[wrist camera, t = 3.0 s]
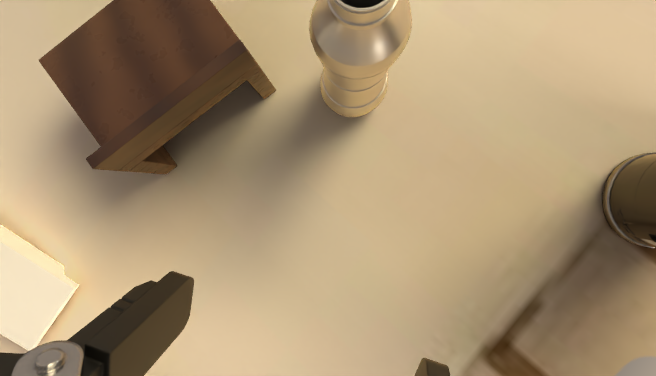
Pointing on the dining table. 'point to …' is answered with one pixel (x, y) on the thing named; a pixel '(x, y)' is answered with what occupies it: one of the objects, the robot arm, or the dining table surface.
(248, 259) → the dining table surface
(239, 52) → the shelf
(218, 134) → the dining table surface
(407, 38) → the silver metal bottle
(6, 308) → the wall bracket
